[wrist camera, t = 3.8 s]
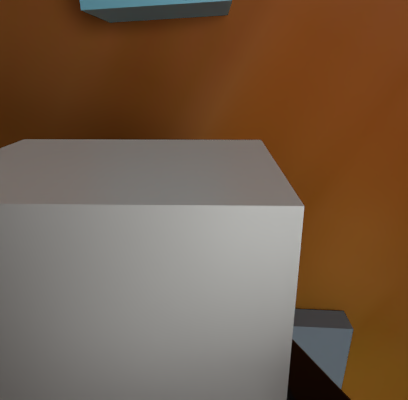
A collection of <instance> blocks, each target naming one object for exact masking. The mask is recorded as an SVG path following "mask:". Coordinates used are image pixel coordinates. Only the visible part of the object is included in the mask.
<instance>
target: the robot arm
mask: <svg viewBox="0 0 408 400" xmlns="http://www.w3.org/2000/svg"><path fill="white" fill-rule="evenodd" d="M287 400H351V399H350V398H349V397H348V396H347V395H346V394H345V393H344V392H343V391H342V390H341V389H340V388H339V387H338V386H337V385H336V384H335V383H334V382H333V381H332V380H331V379H330V377H329V376H328V375H327V374H326V373H325V372H324V371H323V370H322V369H321V368H320V367H319V366H318V365H317V364H316V363H315V362H314V361H313V360H312V359H311V358H310V357H309V356H308V355H307V353H306V352H305V351H304V350H303V349H302V348H301V347H300V346H299V345H298V344H297V343H296V342H295V341H294V340H293V339H292V346H291V357H290V368H289V379H288V390H287Z"/></svg>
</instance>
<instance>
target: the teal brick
mask: <svg viewBox="0 0 408 400" xmlns="http://www.w3.org/2000/svg"><path fill="white" fill-rule="evenodd" d="M231 3H232V0H80V7H81V10H82V11H84V12H86V13H89V14H91V15H93V16H96V17H98V18H100V19H103V20H105V21H107V22H110V23H112V22H127V21H143V20H158V19H174V18H190V17H205V16H221V15H228V13H229V9H230V6H231Z"/></svg>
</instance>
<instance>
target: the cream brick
mask: <svg viewBox="0 0 408 400" xmlns="http://www.w3.org/2000/svg"><path fill="white" fill-rule="evenodd" d="M303 215H304V205H303V203H302V202H301V200H300V199H299V197H298V196H297V194H296V193H295V191H294V189H293V188H292V186H291V185H290V183H289V182H288V180H287V179H286V177H285V176H284V174H283V173H282V171H281V170H280V168H279V167H278V165H277V163H276V162H275V160H274V159H273V157H272V156H271V154H270V153H269V151H268V150H267V148H266V147H265V145H264V144H263V142H262V141H261V140H120V139H23V140H21V141H18V142H15V143H13V144H10V145H8V146H5V147H2V148H0V400H287V390H288V379H289V368H290V357H291V346H292V335H293V324H294V314H295V303H296V292H297V281H298V270H299V259H300V248H301V237H302V226H303Z"/></svg>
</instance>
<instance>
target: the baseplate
mask: <svg viewBox="0 0 408 400" xmlns="http://www.w3.org/2000/svg"><path fill="white" fill-rule="evenodd" d="M352 333H353V328H352V326H351V324H350V322H349V320H348V318H347V316H346V314H345V313H344V311H330V310H309V309H295V314H294V324H293V335H292V339H293V340H294V341H295V342H296V343H297V344H298V345H299V346H300V347H301V348H302V349H303V350H304V351H305V352H306V353H307V355H308V356H309V357H310V358H311V359H312V360H313V361H314V362H315V363H316V364H317V365H318V366H319V367H320V368H321V369H322V370H323V371H324V372H325V373H326V374H327V375H328V376H329V377H330V379H331V380H332V381H333V382H334V383H335V384H336V385H337V386H338V387H339V388H340V389H341V387H342V382H343V378H344V373H345V368H346V363H347V358H348V353H349V348H350V343H351V338H352Z"/></svg>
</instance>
